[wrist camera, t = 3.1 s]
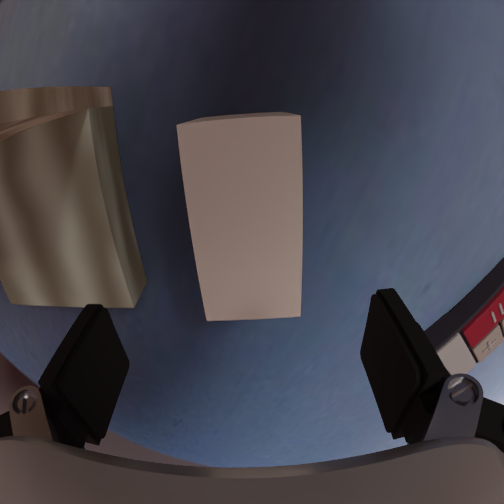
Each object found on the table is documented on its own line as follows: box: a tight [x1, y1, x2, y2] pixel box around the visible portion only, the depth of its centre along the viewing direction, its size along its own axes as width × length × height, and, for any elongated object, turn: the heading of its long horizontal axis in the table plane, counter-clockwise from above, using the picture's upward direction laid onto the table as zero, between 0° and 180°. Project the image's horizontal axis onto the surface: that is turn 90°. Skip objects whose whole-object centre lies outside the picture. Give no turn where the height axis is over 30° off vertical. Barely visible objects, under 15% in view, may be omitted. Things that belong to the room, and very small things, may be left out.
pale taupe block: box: [176, 112, 303, 321], centre depth 20 cm, size 6×13×8 cm, turn 4°
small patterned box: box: [424, 258, 504, 376], centre depth 29 cm, size 11×4×15 cm
